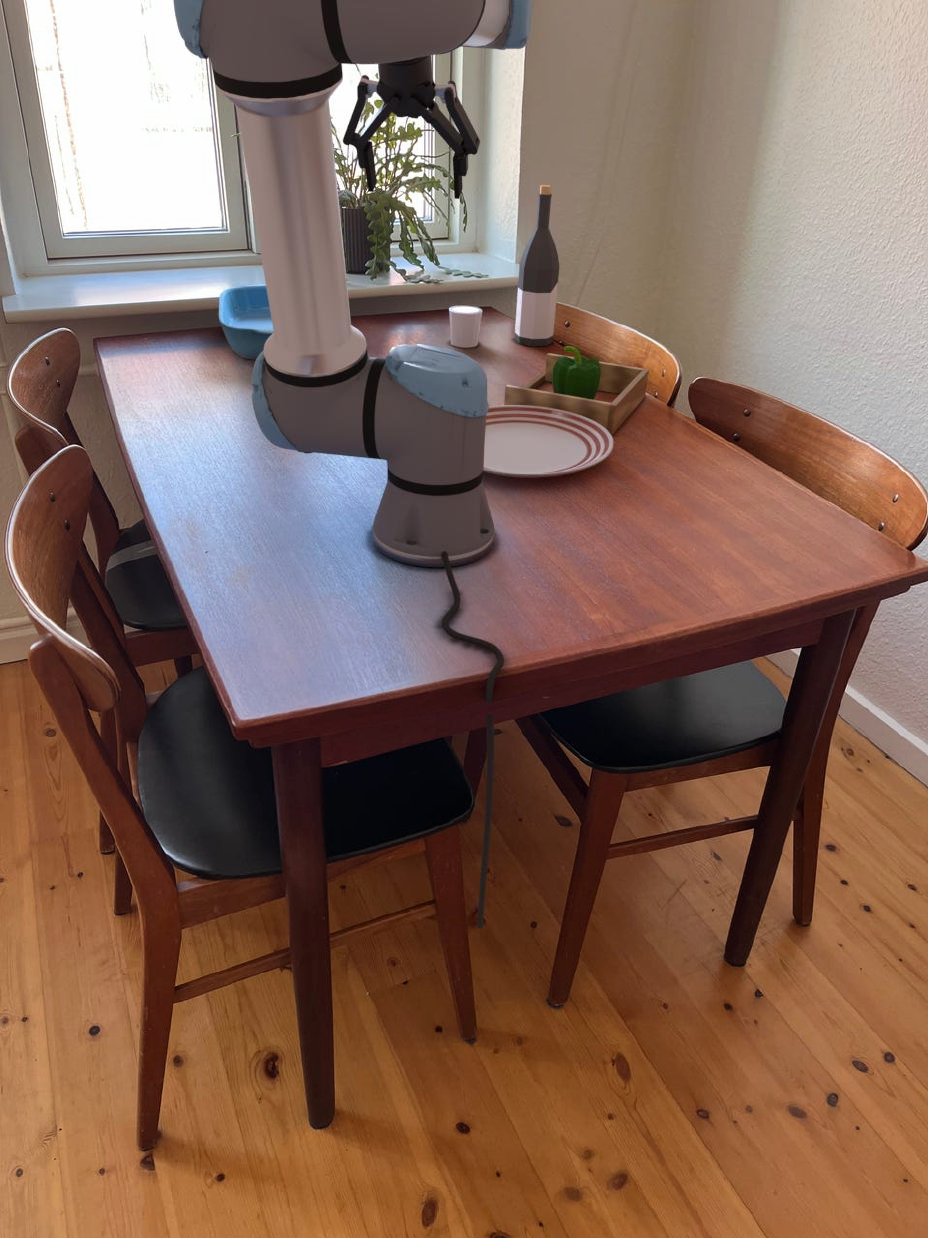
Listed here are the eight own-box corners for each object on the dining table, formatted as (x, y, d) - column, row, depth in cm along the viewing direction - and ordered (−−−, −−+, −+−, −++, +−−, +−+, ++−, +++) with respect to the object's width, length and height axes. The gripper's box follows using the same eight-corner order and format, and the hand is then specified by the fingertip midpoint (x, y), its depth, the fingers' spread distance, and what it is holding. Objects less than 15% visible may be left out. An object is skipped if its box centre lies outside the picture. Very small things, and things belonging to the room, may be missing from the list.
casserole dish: (343, 366, 177) (342, 327, 173) (222, 369, 172) (218, 329, 168) (325, 315, 207) (323, 282, 203) (221, 317, 202) (218, 282, 199)
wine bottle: (516, 334, 200) (526, 181, 184) (553, 337, 200) (567, 184, 184) (512, 344, 194) (523, 186, 178) (551, 347, 193) (565, 189, 177)
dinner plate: (519, 509, 126) (520, 486, 125) (395, 447, 144) (395, 426, 142) (648, 462, 142) (651, 442, 140) (523, 411, 159) (524, 392, 158)
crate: (497, 413, 158) (499, 384, 155) (541, 378, 175) (543, 352, 173) (611, 435, 152) (615, 405, 149) (645, 396, 169) (649, 369, 166)
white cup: (487, 343, 194) (488, 308, 190) (469, 350, 189) (471, 315, 185) (459, 337, 197) (460, 303, 193) (441, 344, 192) (442, 309, 188)
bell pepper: (607, 406, 164) (614, 349, 158) (578, 416, 158) (585, 358, 153) (569, 393, 168) (575, 338, 163) (540, 403, 163) (545, 346, 158)
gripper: (498, 36, 126) (498, 181, 145) (321, 26, 130) (343, 169, 148) (489, 66, 123) (490, 211, 141) (306, 55, 126) (331, 198, 144)
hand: (415, 190), depth 144 cm, fingers open, 13 cm apart
